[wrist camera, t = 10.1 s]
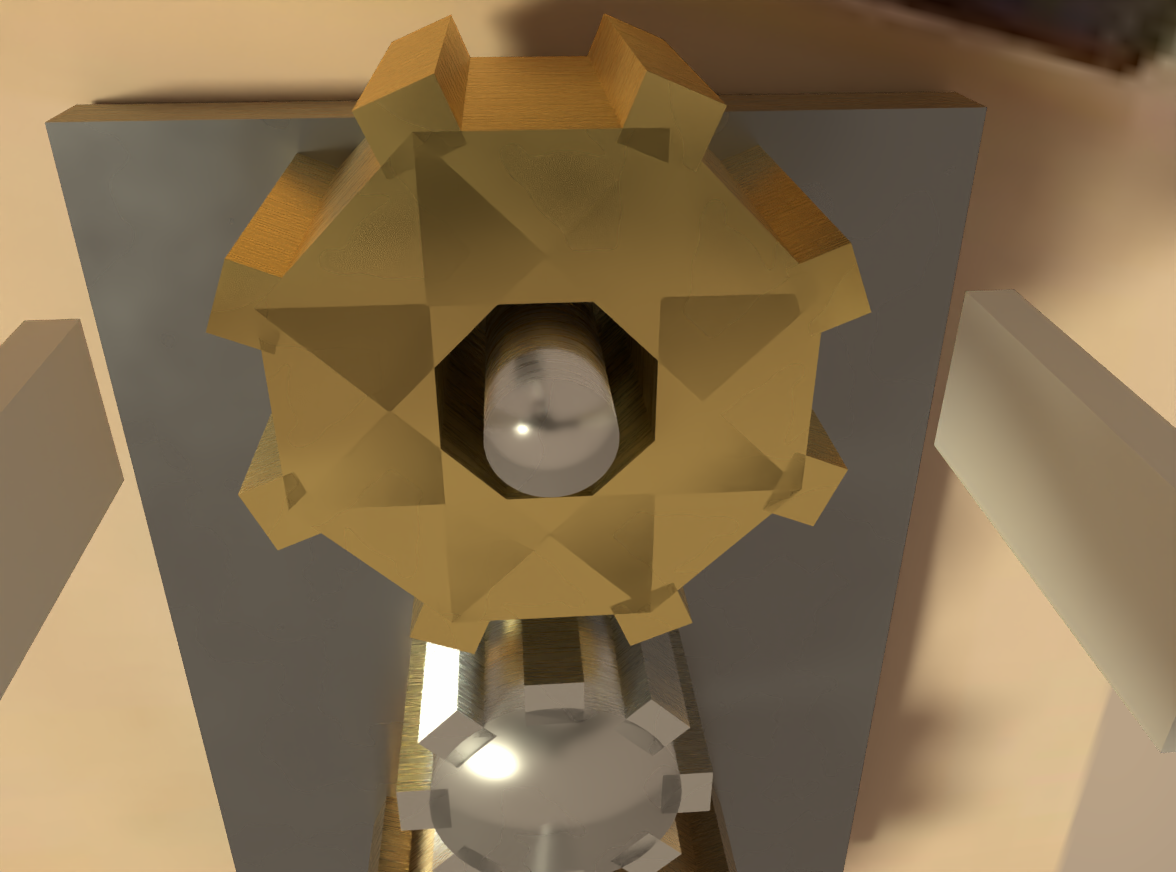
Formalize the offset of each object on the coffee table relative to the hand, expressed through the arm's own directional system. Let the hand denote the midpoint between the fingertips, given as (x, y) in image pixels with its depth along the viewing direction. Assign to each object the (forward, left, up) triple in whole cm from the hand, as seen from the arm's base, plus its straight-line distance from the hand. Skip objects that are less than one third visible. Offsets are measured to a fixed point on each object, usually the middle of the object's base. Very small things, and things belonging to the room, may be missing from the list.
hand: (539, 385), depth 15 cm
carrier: (+9, 0, -8) cm, 12 cm away
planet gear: (0, 0, -6) cm, 6 cm away
